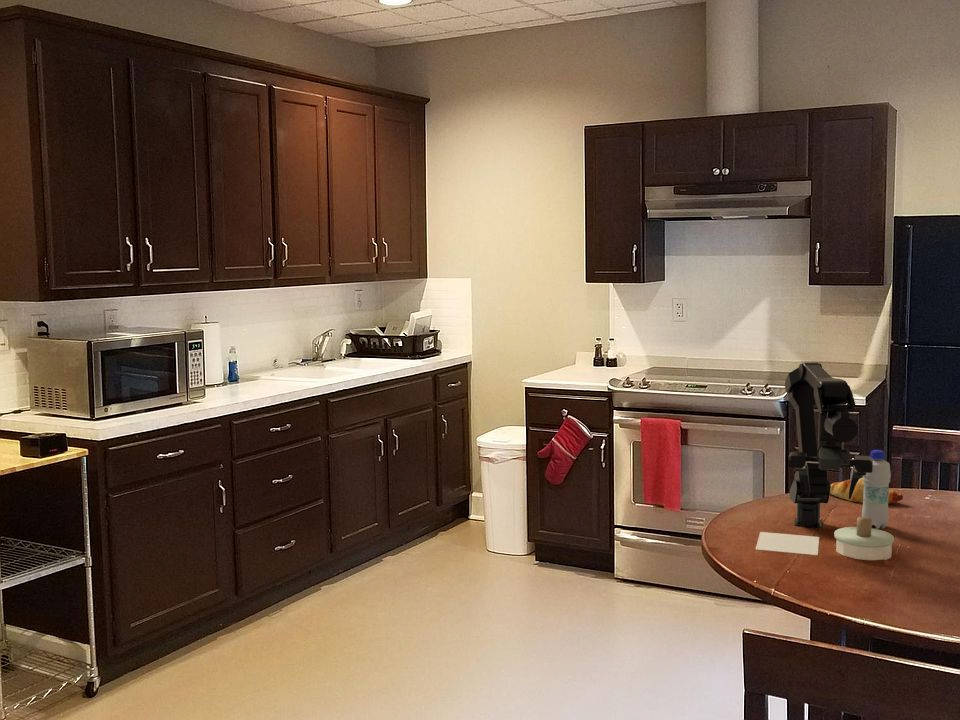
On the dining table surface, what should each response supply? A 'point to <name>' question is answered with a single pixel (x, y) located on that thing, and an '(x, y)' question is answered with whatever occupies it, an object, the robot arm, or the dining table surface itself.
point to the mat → (788, 543)
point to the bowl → (864, 551)
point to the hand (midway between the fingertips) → (829, 497)
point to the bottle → (877, 490)
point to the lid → (864, 535)
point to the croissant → (858, 492)
